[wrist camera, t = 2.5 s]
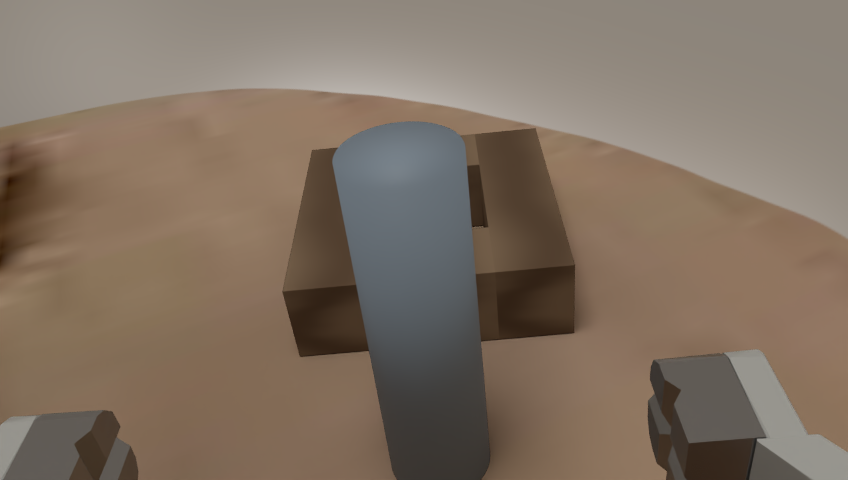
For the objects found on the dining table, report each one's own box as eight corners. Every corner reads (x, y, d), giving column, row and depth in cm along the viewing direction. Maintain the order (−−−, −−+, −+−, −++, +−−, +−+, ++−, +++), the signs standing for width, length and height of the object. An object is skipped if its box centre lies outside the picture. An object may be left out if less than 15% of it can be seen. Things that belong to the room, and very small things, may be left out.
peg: (370, 461, 31) (305, 161, 23) (438, 403, 34) (399, 110, 25) (442, 516, 29) (397, 203, 21) (510, 450, 31) (493, 143, 23)
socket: (299, 356, 37) (282, 291, 35) (324, 207, 47) (312, 150, 45) (573, 332, 36) (574, 265, 34) (536, 187, 47) (535, 128, 45)
